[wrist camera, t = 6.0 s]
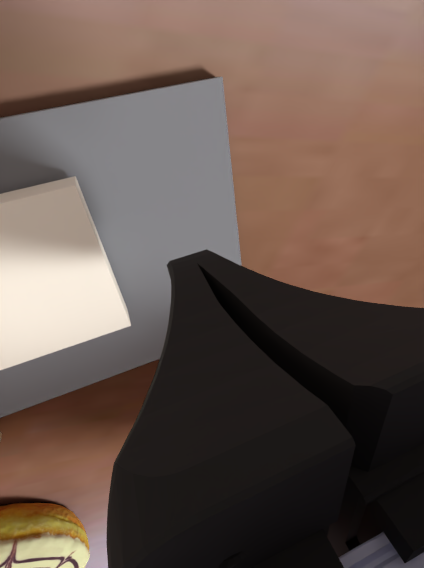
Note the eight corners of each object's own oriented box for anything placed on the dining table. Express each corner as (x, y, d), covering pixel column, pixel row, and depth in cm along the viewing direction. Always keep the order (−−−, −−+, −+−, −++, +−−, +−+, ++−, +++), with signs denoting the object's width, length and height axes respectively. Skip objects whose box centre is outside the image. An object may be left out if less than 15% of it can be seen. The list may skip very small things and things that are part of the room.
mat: (243, 319, 18) (247, 326, 18) (-106, 447, 15) (-113, 459, 14) (216, 77, 11) (222, 76, 11) (-459, 204, 8) (-494, 212, 7)
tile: (131, 325, 13) (-52, 387, 12) (126, 305, 14) (-41, 360, 13) (75, 185, 10) (-194, 250, 8) (75, 174, 11) (-160, 229, 10)
